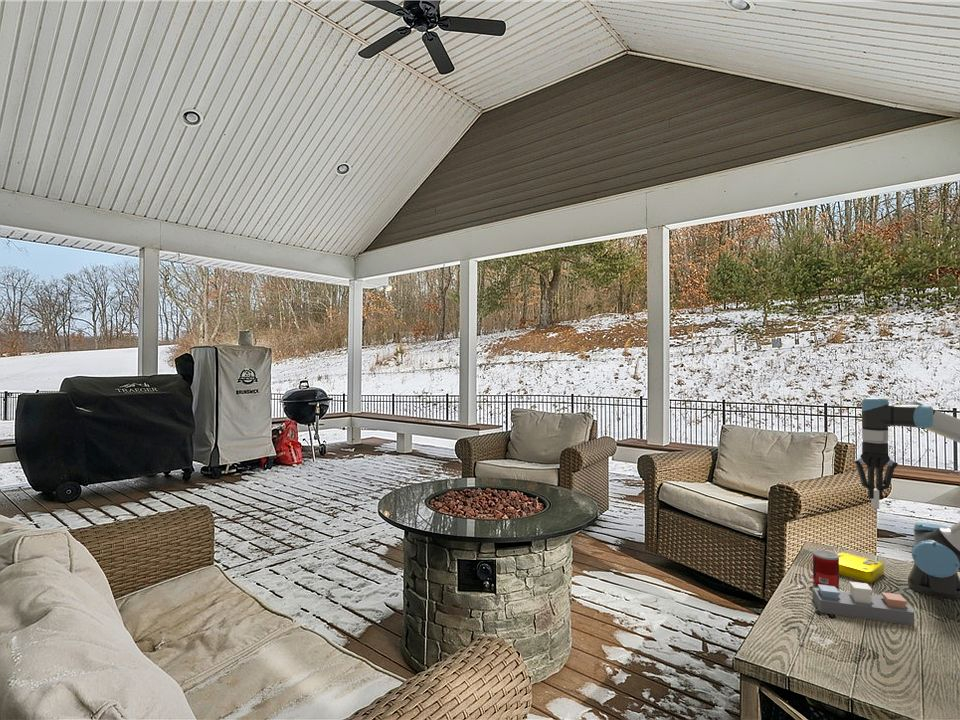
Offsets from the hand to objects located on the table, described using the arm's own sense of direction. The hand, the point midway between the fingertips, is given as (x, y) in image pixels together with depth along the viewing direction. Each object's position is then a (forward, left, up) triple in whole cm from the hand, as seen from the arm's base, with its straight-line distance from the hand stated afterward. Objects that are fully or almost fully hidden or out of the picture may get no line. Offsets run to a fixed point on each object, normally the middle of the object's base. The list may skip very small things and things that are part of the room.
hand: (875, 507), depth 188 cm
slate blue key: (+19, +20, -28) cm, 40 cm away
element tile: (+2, -16, -30) cm, 34 cm away
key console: (+10, +20, -29) cm, 37 cm away
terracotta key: (+1, +20, -28) cm, 35 cm away
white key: (+10, +20, -26) cm, 34 cm away
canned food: (+15, 0, -30) cm, 33 cm away
